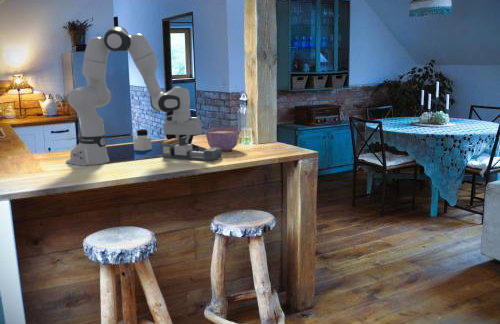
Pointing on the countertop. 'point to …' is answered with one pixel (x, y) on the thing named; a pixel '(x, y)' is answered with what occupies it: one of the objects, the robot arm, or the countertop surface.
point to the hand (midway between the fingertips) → (183, 143)
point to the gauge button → (170, 141)
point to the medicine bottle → (142, 141)
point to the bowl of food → (222, 138)
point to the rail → (192, 153)
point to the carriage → (182, 147)
